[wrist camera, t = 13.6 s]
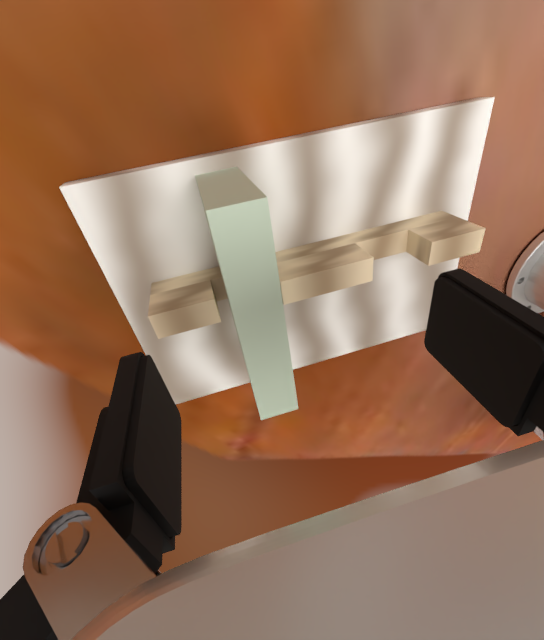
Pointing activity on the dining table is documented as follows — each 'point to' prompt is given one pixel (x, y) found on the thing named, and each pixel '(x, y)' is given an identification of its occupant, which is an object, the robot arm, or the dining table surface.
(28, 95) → the dining table surface
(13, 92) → the dining table surface
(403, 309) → the white rectangular board
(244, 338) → the cross piece
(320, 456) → the dining table surface
